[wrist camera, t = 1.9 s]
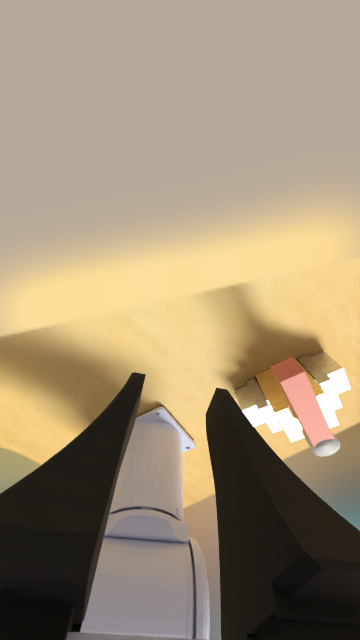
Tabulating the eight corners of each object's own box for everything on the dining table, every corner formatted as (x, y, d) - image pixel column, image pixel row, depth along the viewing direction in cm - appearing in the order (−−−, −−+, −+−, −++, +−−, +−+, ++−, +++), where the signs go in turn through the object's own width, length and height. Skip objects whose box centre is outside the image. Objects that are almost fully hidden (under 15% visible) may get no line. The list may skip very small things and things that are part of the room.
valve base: (247, 410, 25) (265, 458, 20) (231, 385, 23) (246, 431, 18) (332, 375, 23) (378, 418, 17) (321, 345, 21) (367, 383, 16)
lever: (329, 431, 18) (343, 450, 16) (306, 440, 18) (317, 459, 16) (294, 355, 14) (307, 370, 13) (267, 367, 15) (277, 383, 13)
